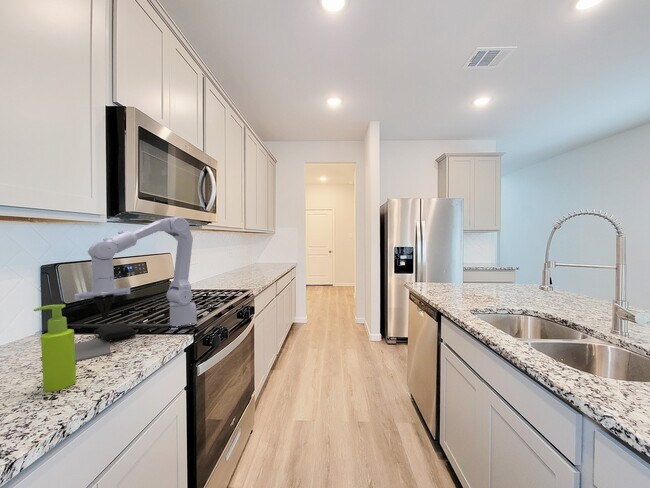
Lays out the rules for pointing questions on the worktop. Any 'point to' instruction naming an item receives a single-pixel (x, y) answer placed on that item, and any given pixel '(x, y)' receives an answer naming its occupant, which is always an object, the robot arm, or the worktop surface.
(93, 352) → the mat
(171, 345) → the worktop surface
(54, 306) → the soap dispenser
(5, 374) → the worktop surface
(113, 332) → the black upright slab
